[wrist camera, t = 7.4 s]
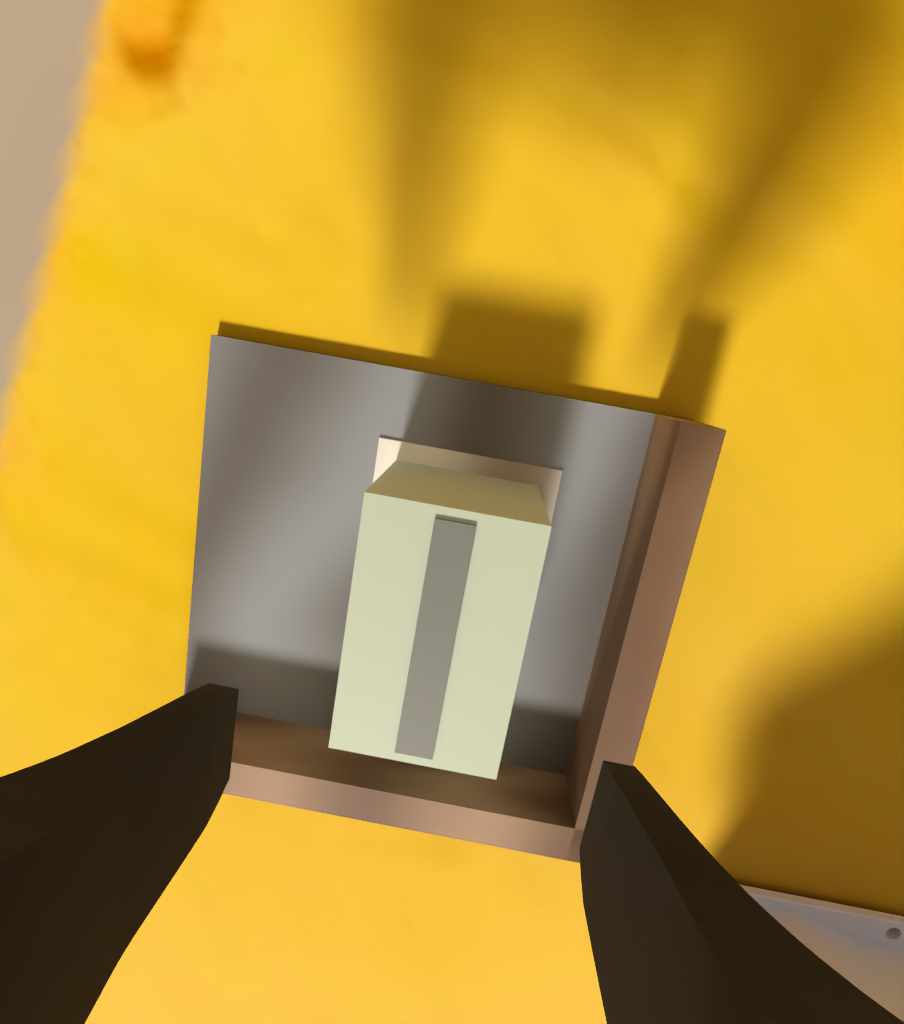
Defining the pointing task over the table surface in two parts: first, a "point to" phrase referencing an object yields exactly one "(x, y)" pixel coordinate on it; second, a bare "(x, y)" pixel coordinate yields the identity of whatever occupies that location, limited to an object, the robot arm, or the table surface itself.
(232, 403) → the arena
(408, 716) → the block
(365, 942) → the table surface
